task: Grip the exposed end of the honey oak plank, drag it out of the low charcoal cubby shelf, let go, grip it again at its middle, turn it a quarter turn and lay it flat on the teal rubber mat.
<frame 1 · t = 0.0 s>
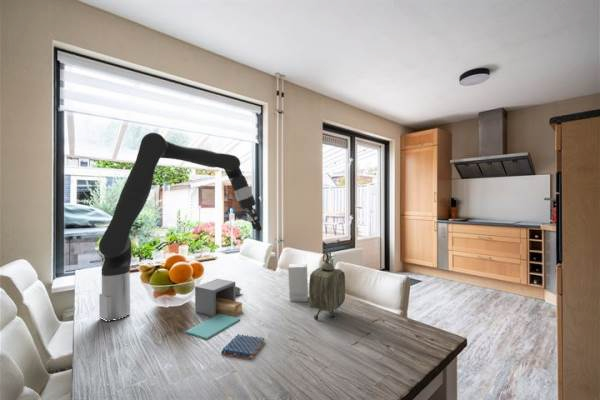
hand: (257, 229, 127), 31 cm above the table, tool tilted 20°, fingers open, 8 cm apart
skincare box: (298, 299, 122), on the table
tabletop clock: (328, 316, 104), on the table
cubby shelf: (213, 307, 113), on the table
oak plank: (224, 311, 110), on the table
egg carton: (228, 296, 128), on the table
woven mat: (244, 350, 82), on the table
teal mat: (214, 326, 97), on the table
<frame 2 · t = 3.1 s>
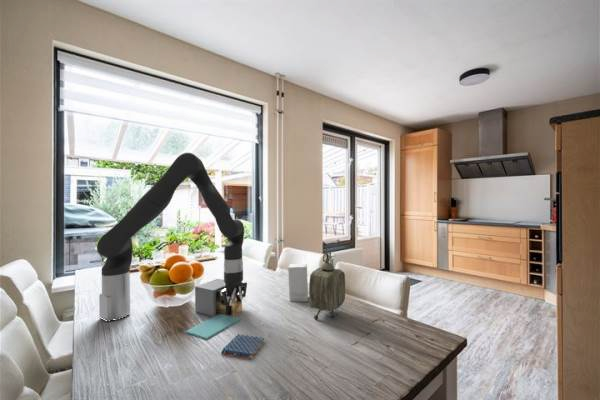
hand: (234, 311, 108), 1 cm above the table, tool pointing down, fingers closed on oak plank, 5 cm apart
oak plank: (225, 310, 111), on the table, touching gripper
everything else where it was.
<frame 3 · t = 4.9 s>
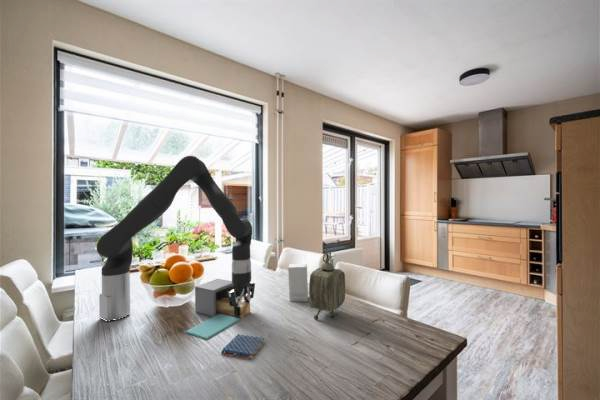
hand: (242, 312, 106), 1 cm above the table, tool pointing down, fingers closed on oak plank, 5 cm apart
oak plank: (232, 312, 109), on the table, touching gripper
everything else where it was.
when the fingers open (1 cm above the table, at t = 6.8 s): oak plank stays where it is, on the table.
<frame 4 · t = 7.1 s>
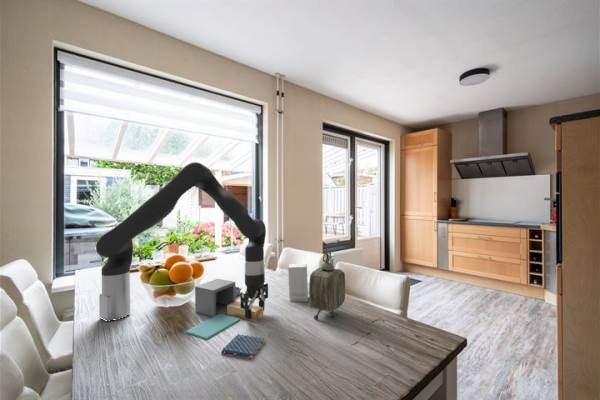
hand: (255, 314, 103), 1 cm above the table, tool pointing down, fingers open, 7 cm apart
oak plank: (245, 316, 105), on the table
everything else where it was.
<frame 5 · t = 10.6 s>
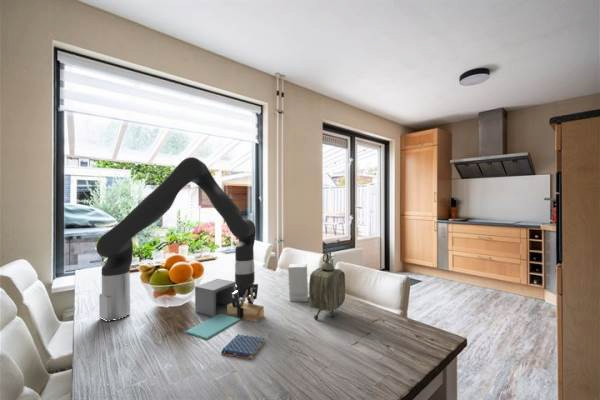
hand: (245, 314, 105), 1 cm above the table, tool pointing down, fingers closed on oak plank, 5 cm apart
oak plank: (245, 315, 105), on the table, touching gripper
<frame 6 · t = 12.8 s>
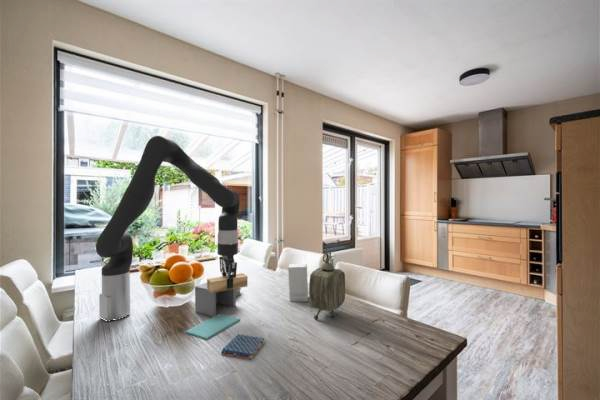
hand: (227, 286, 102), 13 cm above the table, tool pointing down, fingers closed on oak plank, 5 cm apart
oak plank: (227, 287, 102), point 12 cm above the table, touching gripper
when the fingers open (2 cm above the table, at t = 15.1 s): oak plank drops 1 cm, resting on teal mat.
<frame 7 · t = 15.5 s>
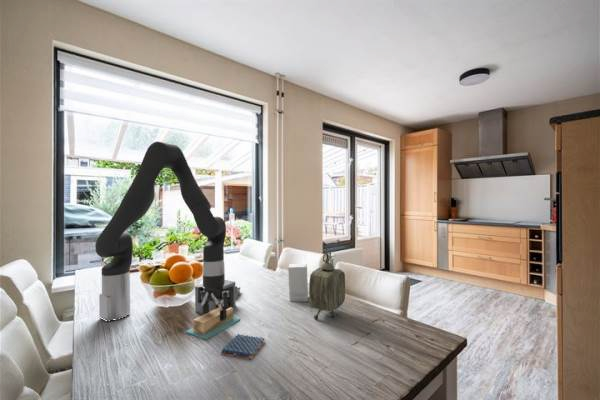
hand: (214, 317, 97), 3 cm above the table, tool pointing down, fingers open, 8 cm apart
oak plank: (214, 324, 97), point 1 cm above the table, touching teal mat
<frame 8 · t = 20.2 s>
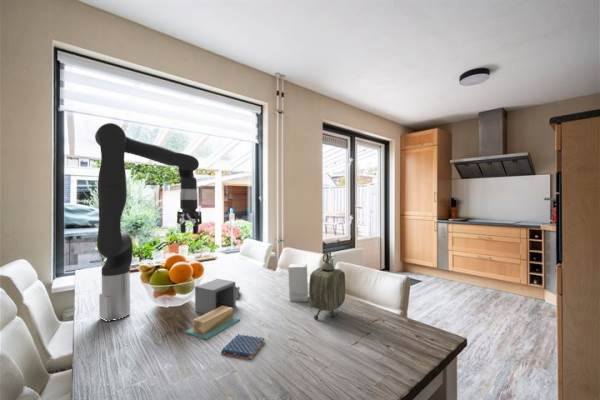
hand: (189, 233, 127), 30 cm above the table, tool pointing down, fingers open, 8 cm apart
at the end: oak plank 0.1 cm off-centre on the teal mat, point 0.6 cm above the teal mat's base; oak plank tilted 0°; the gripper is holding nothing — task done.
